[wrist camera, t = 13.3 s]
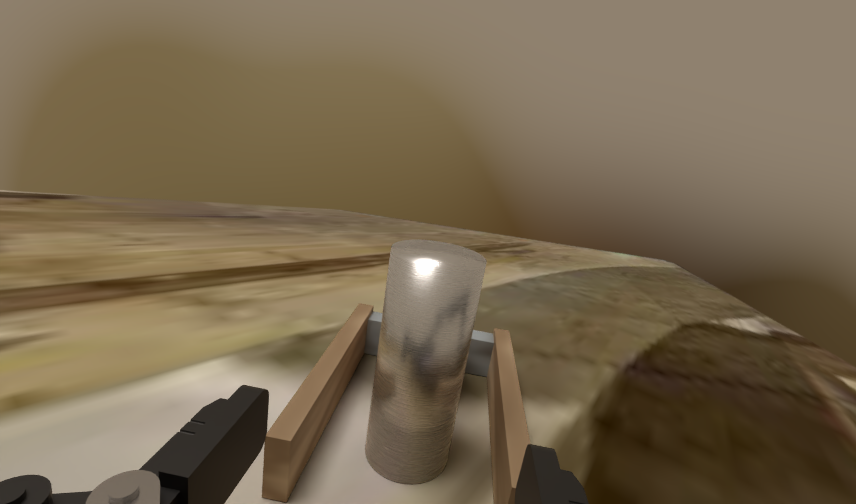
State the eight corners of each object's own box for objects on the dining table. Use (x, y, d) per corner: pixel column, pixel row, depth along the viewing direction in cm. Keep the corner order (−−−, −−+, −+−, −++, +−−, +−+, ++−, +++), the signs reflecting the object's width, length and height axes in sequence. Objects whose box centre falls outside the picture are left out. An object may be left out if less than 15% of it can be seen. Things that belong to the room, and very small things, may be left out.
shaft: (449, 430, 26) (485, 249, 23) (444, 492, 21) (488, 276, 18) (375, 415, 26) (400, 234, 23) (354, 473, 22) (381, 257, 19)
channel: (500, 369, 34) (509, 330, 33) (522, 554, 19) (539, 493, 18) (355, 341, 35) (359, 303, 34) (262, 497, 20) (265, 435, 19)
